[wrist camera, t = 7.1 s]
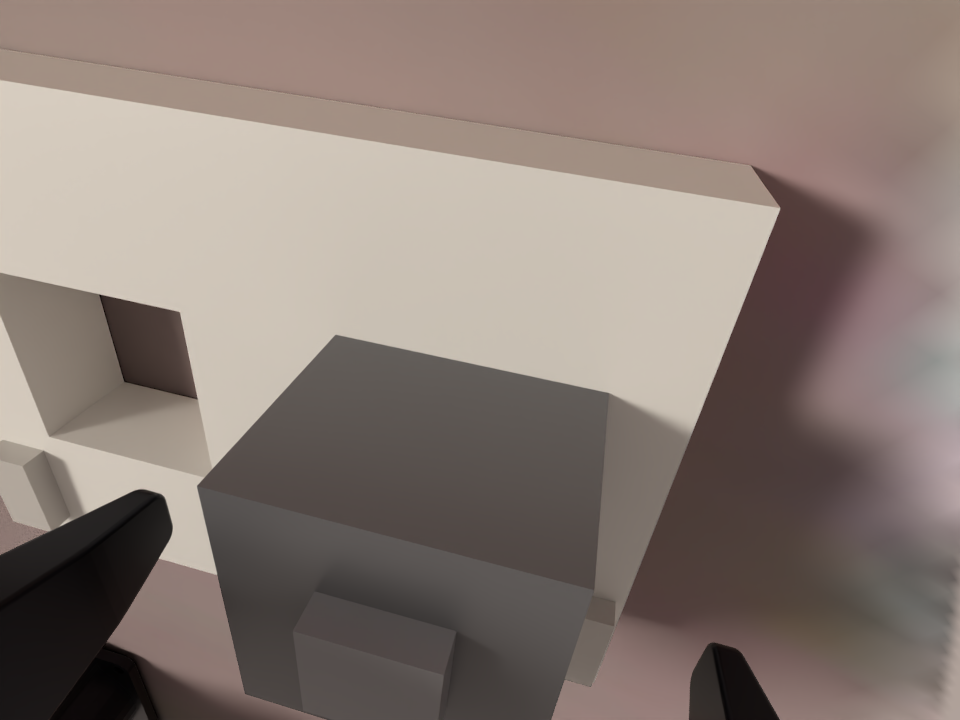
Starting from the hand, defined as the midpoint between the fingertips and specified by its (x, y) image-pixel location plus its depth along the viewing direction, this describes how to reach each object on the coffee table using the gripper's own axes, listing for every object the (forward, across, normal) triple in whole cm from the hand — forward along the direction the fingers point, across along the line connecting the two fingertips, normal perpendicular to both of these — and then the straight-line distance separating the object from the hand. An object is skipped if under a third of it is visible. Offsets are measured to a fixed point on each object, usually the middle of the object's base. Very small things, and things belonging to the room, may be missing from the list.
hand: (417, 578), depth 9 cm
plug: (+5, 0, 0) cm, 5 cm away
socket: (+5, +4, 0) cm, 7 cm away
